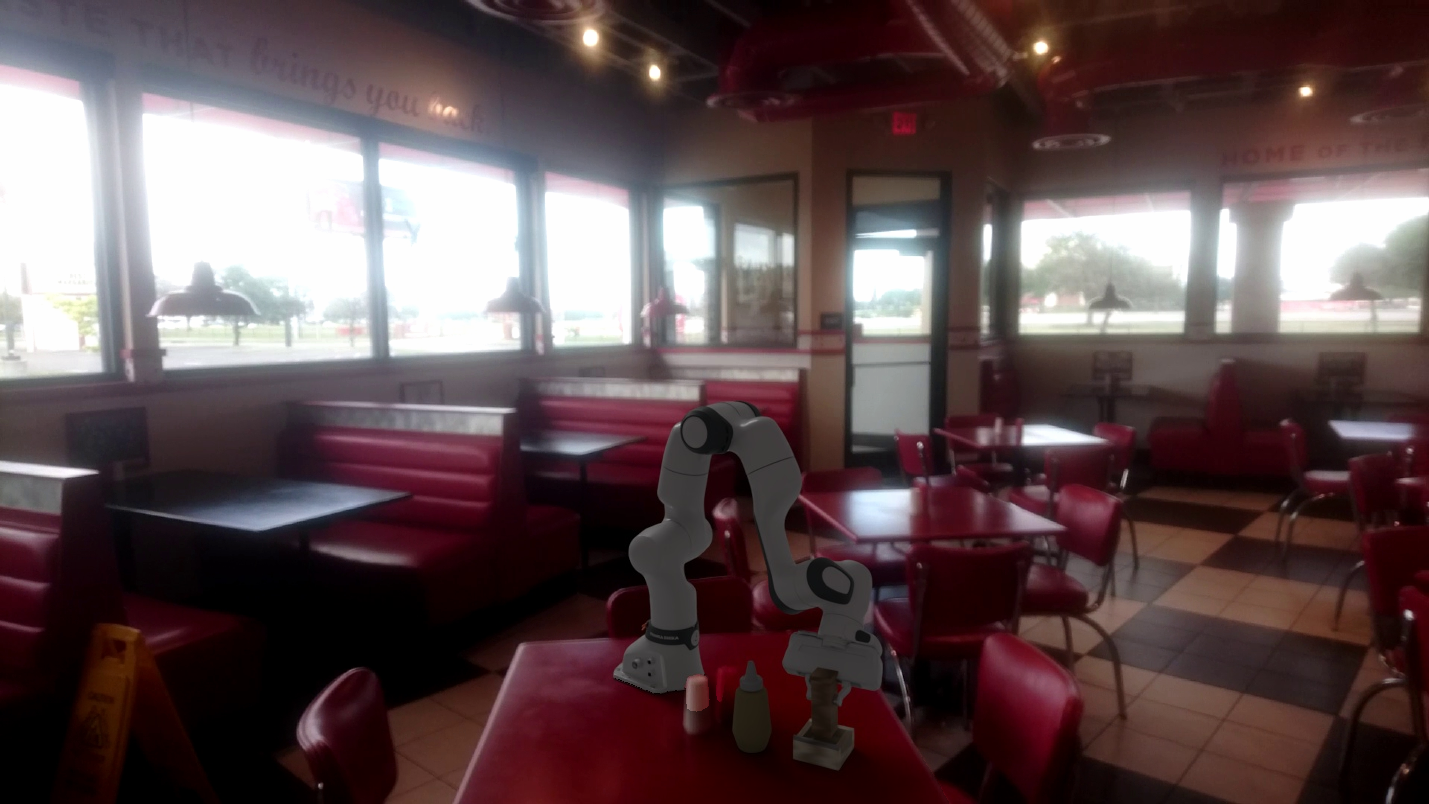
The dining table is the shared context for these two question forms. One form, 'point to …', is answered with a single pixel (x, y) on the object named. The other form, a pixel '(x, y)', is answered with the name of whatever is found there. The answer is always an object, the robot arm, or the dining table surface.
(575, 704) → the dining table surface
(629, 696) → the dining table surface
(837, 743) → the frame
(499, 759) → the dining table surface
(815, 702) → the brown capped wooden post
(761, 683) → the squeeze bottle
